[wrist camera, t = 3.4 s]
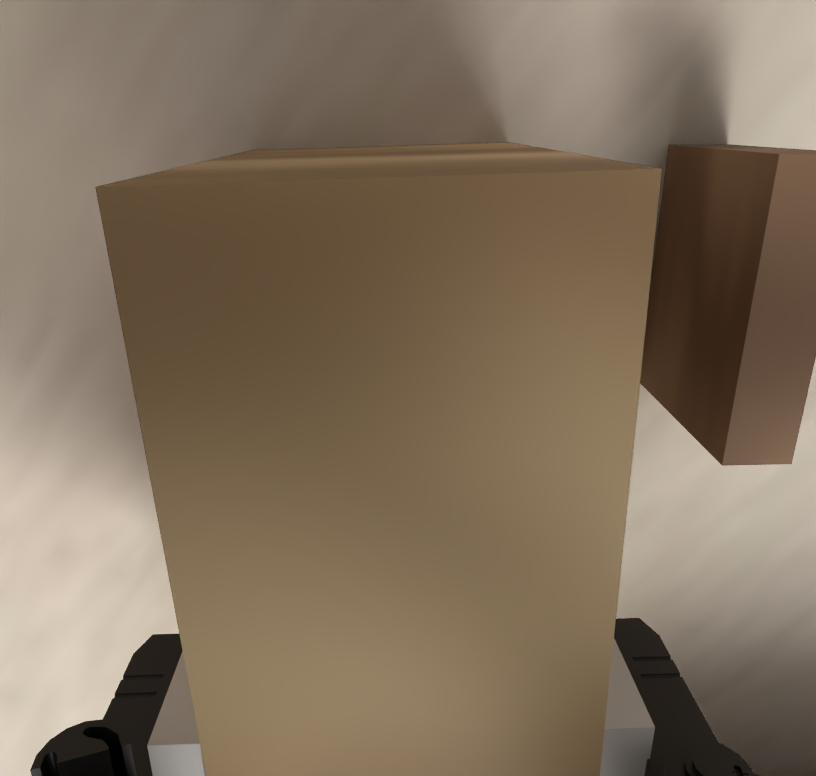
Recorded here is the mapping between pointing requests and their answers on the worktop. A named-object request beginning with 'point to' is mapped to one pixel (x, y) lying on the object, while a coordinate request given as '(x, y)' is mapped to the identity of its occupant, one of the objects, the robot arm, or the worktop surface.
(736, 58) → the worktop surface
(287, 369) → the light wooden block
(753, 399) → the pair of brown blocks
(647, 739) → the robot arm
